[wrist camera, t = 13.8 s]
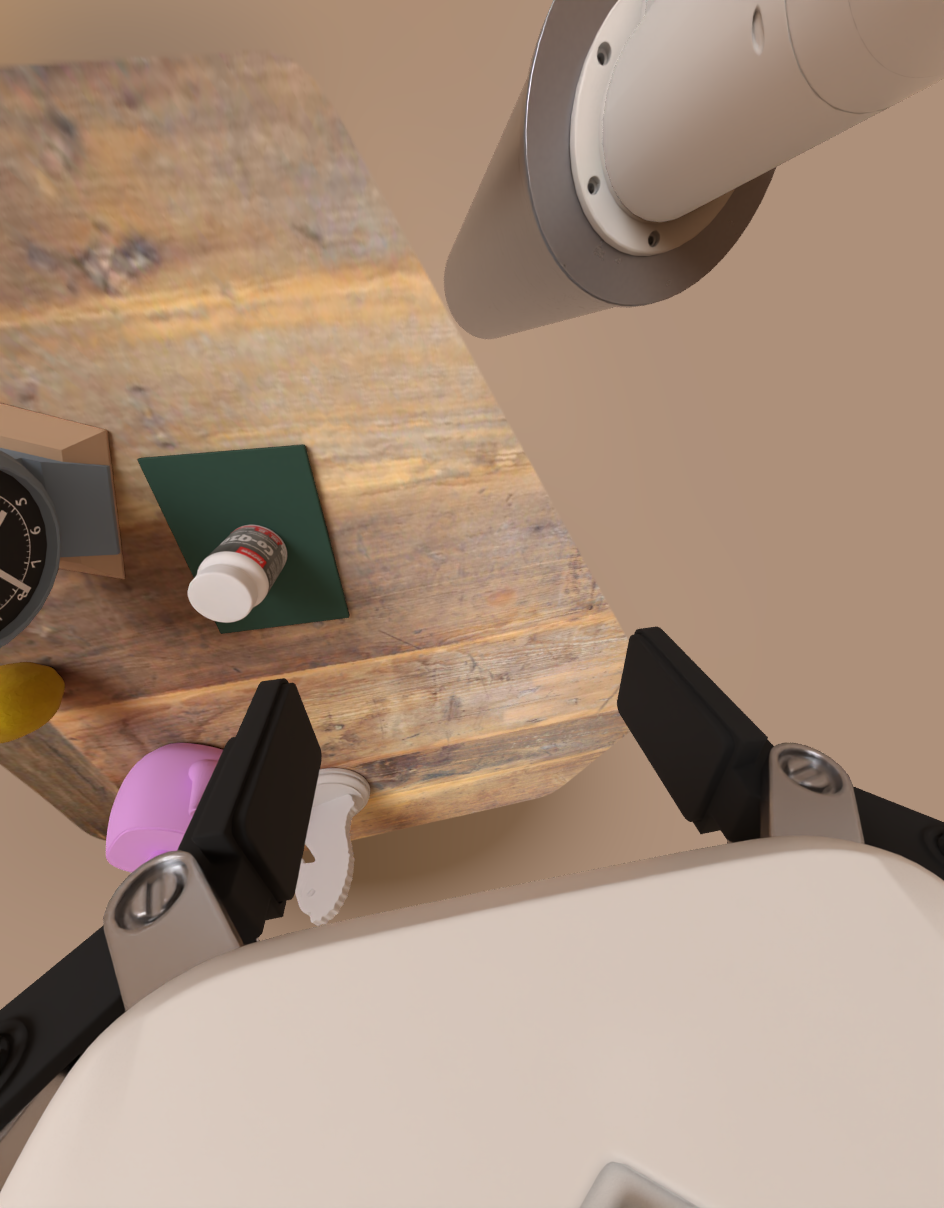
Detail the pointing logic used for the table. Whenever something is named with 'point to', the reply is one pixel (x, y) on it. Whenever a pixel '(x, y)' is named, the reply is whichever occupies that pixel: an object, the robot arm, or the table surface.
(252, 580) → the pill bottle
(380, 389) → the table surface
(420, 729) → the table surface
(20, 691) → the apple
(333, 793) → the chess piece
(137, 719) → the table surface
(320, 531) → the mat
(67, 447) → the alarm clock
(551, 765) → the table surface
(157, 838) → the teapot
